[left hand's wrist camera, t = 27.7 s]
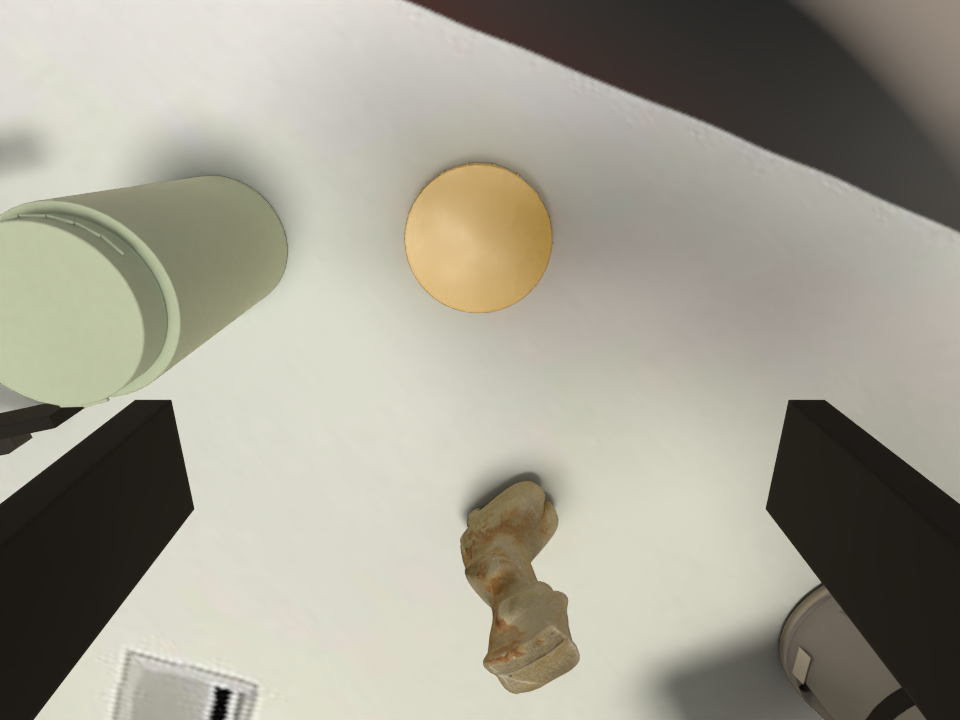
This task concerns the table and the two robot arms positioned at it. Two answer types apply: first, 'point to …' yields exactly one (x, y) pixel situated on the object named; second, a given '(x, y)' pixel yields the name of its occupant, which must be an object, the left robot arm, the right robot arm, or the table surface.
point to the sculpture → (518, 589)
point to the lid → (478, 238)
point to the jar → (128, 283)
